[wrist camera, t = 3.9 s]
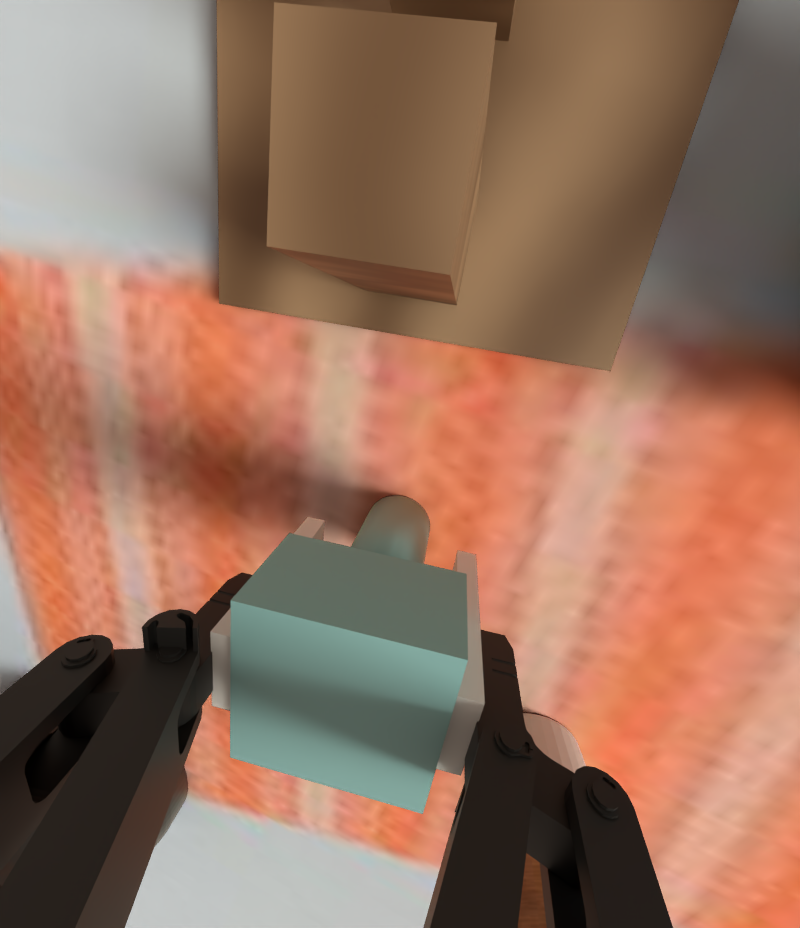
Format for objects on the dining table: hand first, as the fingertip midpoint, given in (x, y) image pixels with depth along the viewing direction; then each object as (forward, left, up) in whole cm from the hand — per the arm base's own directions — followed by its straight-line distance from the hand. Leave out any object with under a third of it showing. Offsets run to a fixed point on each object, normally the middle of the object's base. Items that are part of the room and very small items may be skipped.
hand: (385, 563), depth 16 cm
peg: (0, 0, -3) cm, 3 cm away
